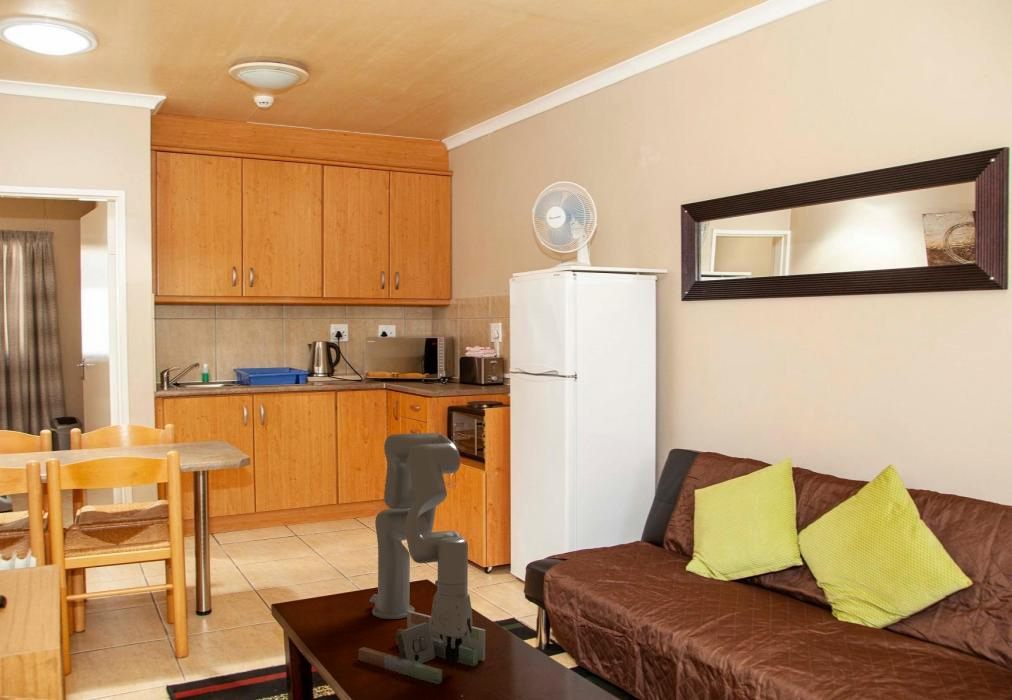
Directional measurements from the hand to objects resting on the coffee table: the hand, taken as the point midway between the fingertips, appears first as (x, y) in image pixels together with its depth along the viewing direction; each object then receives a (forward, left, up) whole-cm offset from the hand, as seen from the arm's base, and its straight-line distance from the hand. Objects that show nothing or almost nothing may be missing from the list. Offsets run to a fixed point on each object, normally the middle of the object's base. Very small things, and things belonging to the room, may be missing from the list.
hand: (452, 661), depth 215 cm
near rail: (-11, -7, -3) cm, 14 cm away
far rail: (-11, +7, -3) cm, 14 cm away
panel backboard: (-11, +11, -3) cm, 16 cm away
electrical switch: (-12, 0, -3) cm, 13 cm away
